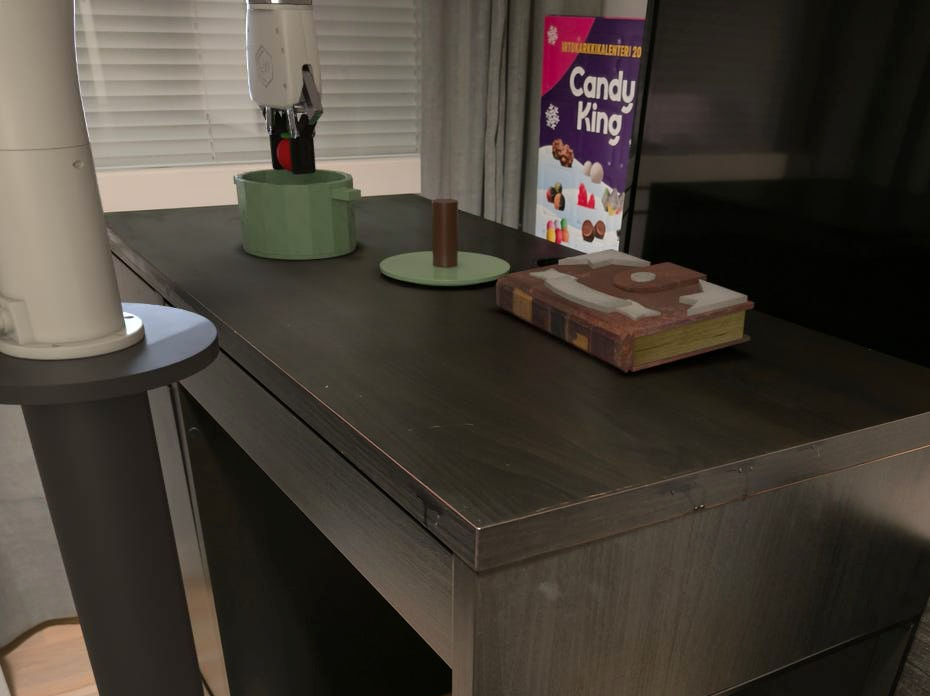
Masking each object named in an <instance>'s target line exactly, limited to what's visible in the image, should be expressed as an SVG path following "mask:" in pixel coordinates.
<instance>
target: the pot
mask: <svg viewBox="0 0 930 696" xmlns="http://www.w3.org/2000/svg"><path fill="white" fill-rule="evenodd" d="M232 179H233V184H234V185H235V188H236V198H237V206H238V207H237V208H238V213H239V215H238V216H239V222H240V232H241V240H242V247H243V250H244V252H245V253H247V254H249V255H252V256H256V257H259V258H266V259H272V260H287V261H288V260H289V261H291V260H293V261H296V260H297V261H298V260H299V261H300V260H301V261H302V260H303V261H304V260H319V259H329V258H336V257H340V256H345V255H348V254H350V253H352V252H354V251H355V250H356V248H357V231H356V213H355V212H356V211H355V201H356V200H360V199H362V190H361V189H359V188H354V178H353V176H352V174H351V173H347V172H344V171H339V170H331V169H321V168H320V169H319V168H316V171H315V173H310V174H299V175H295V174H293V173H292V172H290V171H287V170H286V169H285V170H274V169H273V168H268V169H257V170H251V171H244V172H242V173H238V174H236V175H233V176H232Z"/></svg>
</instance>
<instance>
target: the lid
mask: <svg viewBox="0 0 930 696" xmlns="http://www.w3.org/2000/svg"><path fill="white" fill-rule="evenodd" d="M458 230H459V201H458V200H457V199H455V198H454V199H453V198H434V199H432V200H431V235H432V237H431V241H432V243H431V245H432V246H431V247H432V248H431V249H432V250H430V251H429V250H428V251H427V250H425V251H416V252H415V251H414V252H408V253H407V252H406V253H401V254H397V255H392V256H390V257H387V258H385V259H382V261H381V262H380V263H379V271H380V272H381V273H382V274H383V275H385V276H387V277H389V278H391V279H394V280H399V281H404V282H408V283H412V284H417V285H423V286H431V287H432V286H433V287H462V286H472V285H478V284H482V283H488V282H492V281H496V280H498V279H499V278H500V277H501V276H503V277H505V276H506V274H510V272H511V265H510V263H509V262H508V261H506V260H504V259H503V258H502V259H501V258H500V257H496V256H492V255H488V254H483V253H476V252H470V251H469V252H468V251H459V250H458V249H459V236H458V235H459V231H458Z"/></svg>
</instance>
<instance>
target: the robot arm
mask: <svg viewBox="0 0 930 696" xmlns="http://www.w3.org/2000/svg"><path fill="white" fill-rule="evenodd" d="M75 1H76V0H0V352H2V353H3V354H6V355H9V356H12V357H17V358H23V359H33V360H67V359H79V358H87V357H94V356H99V355H104V354H109V353H113V352H117V351H120V350H123V349H126V348H128V347H130V346H133V345H135V344H136V343H138V342H139V341H141V340H142V339H143V337H144V336H145V328H144V324H143V321H142V320H141V319H140V318H139V317H137V316H135V315H132V314H129V313H126V312H123V309H122V304H121V303H122V300H121V295H120V290H119V284H118V279H117V273H116V268H115V264H114V259H113V254H112V253H113V252H112V249H111V243H110V238H109V237H110V236H109V234H108V232H109V231H108V227H107V223H106V216H105V212H104V205H103V202H102V197H101V191H100V187H99V181H98V176H97V171H96V166H95V160H94V156H93V150H92V145H91V140H90V134H89V129H88V124H87V120H86V114H85V113H86V112H85V108H84V103H83V97H82V90H81V83H80V77H79V69H78V59H77V58H78V56H77V46H76V45H77V43H76V3H75ZM313 11H314V6H313V0H246V17H245V18H246V19H245V48H246V49H245V50H246V64H247V65H246V66H247V68H246V69H247V79H248V81H247V82H248V89H249V92H248V93H249V97H250V100H251V101H252V103H254V104H255V105H256V106H257V107H258V109H259V110H260V112H261V113H262V116H263V119H264V121H265V127H266V132H267V134H268V136H269V146H270V147H269V148H270V157H271V166H272V169H274V170H285V169H284V168H283V167H282V166H281V164H280V163H279V160H278V157H277V148H278V145H279V143H280V142H281V141H282V140H283V139H284V138H282V137H281V133H289V129H288V125H289V124H290V128H291V134H292V137H293V138H289V148H290V159H291V170H292V173H293V174H295V175H299V174H310V173H315V171H316V169H317V167H316V166H317V165H316V155H315V142H314V141H315V140H314V138H315V137H316V134H317V132H316V126H317V125H318V121H319V120H320V118H321V117H322V116H323V114H324V107H323V103H322V97H323V94H322V93H323V92H322V91H323V90H322V87H323V86H322V72H321V62H320V54H319V45H318V38H317V32H316V27H315V26H316V25H315V19H314V15H313ZM298 115H300V117H299V118H298Z"/></svg>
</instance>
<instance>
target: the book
mask: <svg viewBox="0 0 930 696" xmlns="http://www.w3.org/2000/svg"><path fill="white" fill-rule="evenodd" d="M707 276H708V275H707V274H705V273H702V272H699V271H696V270H694V269H690V268H687V267H684V266H682V265H678V264H675V263H673V262H669V261H666V262H661V263H657V264H652V265H651V261H648V260H646V259H642V258H639V257H637V256H634V255H632V254H628V253H626V252H622V251H619V250H616V249H613V248H609V249H605V250H600V251H595V252H590V253H584V254H581V255H576V256H570V257H565V258H561V259H558V263H555V264H551V265H545V266H541V267H536V268H532V269H531V268H530V269H526V270H521V271H517V272H511V273H509V274H506V276H504V277H503V276H501V277H500V278H499V279H497V281H496V282H495V297H496V299H495V300H496V306H497V307H499V308H500V309H501V310H503V311H505V312H506V313H508V314H510V315H512V316H514V317H516V318H518V319H520V320H521V321H524V322H526V323H528V324H530V325H531V326H534V327H536V328H538V329H539V330H541V331H543V332H546V333H548V334H549V335H551V336H553V337H555V338H556V339H558V340H561V341H563V342H565V343H567V344H569V345H571V346H573V347H574V348H576V349H579V350H580V351H583V352H585V353H586V354H588V355H590V356H592V357H594V358H596V359H598V360H600V361H603V362H604V363H606V364H608V365H610V366H611V367H614V368H616V369H618V370H620V371H622V372H623V373H625V374H627V373H628V372H632V373H633V372H638V371H641V370H645V369H648V368H652V367H656V366H659V365H663V364H668V363H672V362H674V361H678V360H682V359H686V358H690V357H693V356H697V355H700V354H704V353H708V352H712V351H716V350H719V349H723V348H727V347H731V346H734V345H738V344H742V343H745V342H749V341H751V335H748V334H745V333H744V328H745V327H744V326H745V319H746V318H745V317H746V311H748V310H752V309H754V307H755V302H754V301H751V300H749V299H748V295H746V294H744V293H740V292H738V291H735V290H732V289H729V288H726V287H723V286H720V285H718V284H715V283H712V282H709V281H707V278H708V277H707Z"/></svg>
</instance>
